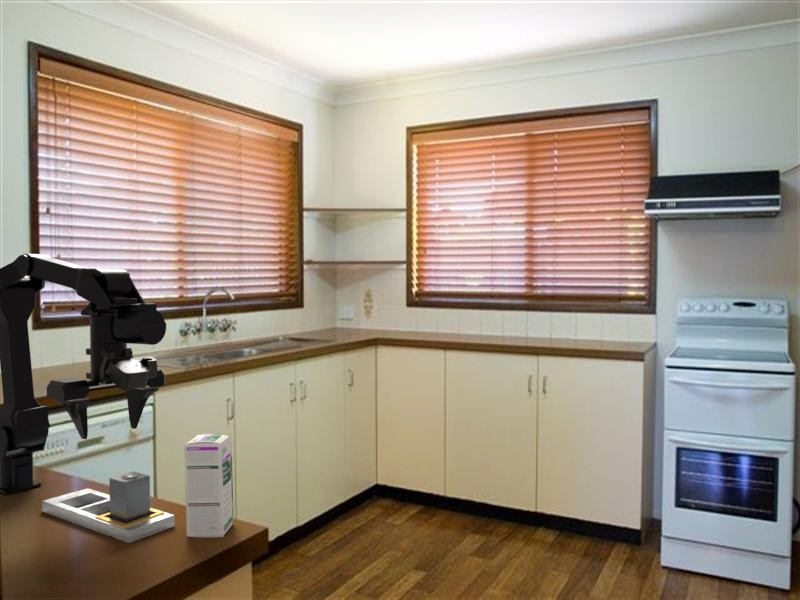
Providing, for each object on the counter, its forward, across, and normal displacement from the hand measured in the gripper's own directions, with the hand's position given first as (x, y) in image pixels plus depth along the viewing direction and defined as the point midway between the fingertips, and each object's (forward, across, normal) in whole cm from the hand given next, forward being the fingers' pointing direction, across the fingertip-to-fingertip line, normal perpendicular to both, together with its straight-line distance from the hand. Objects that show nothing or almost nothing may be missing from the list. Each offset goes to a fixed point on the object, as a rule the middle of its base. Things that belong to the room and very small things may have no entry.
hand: (109, 433), depth 113 cm
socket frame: (+12, -4, -5) cm, 14 cm away
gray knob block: (+12, -4, -12) cm, 17 cm away
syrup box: (+13, +2, -23) cm, 26 cm away
